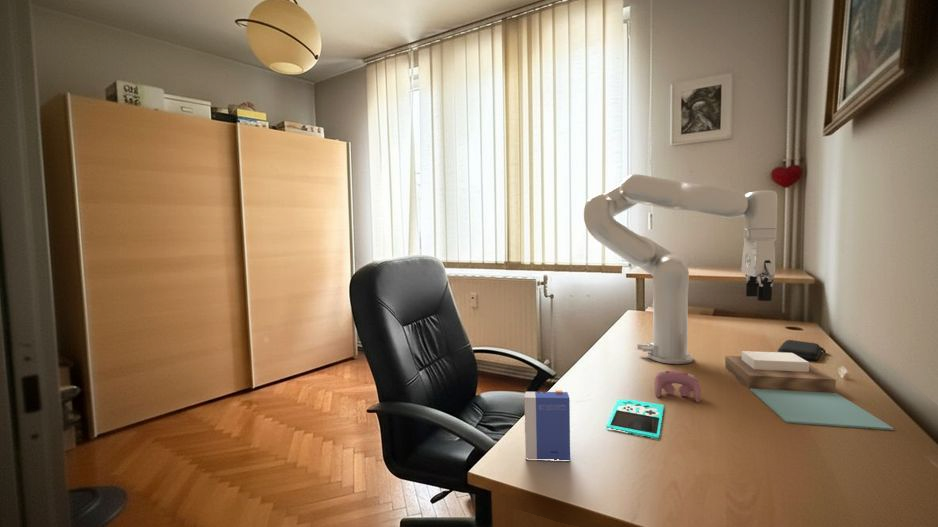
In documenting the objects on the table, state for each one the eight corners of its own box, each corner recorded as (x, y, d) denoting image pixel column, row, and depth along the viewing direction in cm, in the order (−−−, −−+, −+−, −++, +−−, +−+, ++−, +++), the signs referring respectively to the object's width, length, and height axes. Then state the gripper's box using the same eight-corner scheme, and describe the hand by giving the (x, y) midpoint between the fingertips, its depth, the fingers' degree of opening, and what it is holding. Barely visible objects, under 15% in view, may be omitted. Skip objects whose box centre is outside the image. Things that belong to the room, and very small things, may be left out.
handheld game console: (665, 409, 92) (665, 404, 92) (660, 443, 78) (660, 436, 78) (618, 402, 97) (618, 396, 97) (606, 432, 83) (606, 425, 83)
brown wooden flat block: (749, 389, 101) (749, 375, 101) (725, 367, 117) (725, 355, 116) (835, 393, 97) (835, 379, 97) (798, 371, 112) (799, 358, 112)
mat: (786, 422, 84) (786, 420, 84) (749, 389, 101) (749, 388, 101) (893, 430, 79) (893, 428, 79) (836, 394, 96) (836, 393, 96)
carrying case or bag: (822, 364, 118) (826, 353, 128) (822, 354, 118) (827, 343, 128) (776, 357, 125) (784, 347, 136) (776, 347, 125) (784, 337, 135)
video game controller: (700, 404, 97) (699, 374, 100) (701, 402, 93) (700, 371, 96) (654, 398, 101) (654, 369, 104) (654, 396, 97) (654, 366, 100)
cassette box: (754, 369, 105) (754, 360, 105) (741, 359, 113) (741, 351, 113) (808, 371, 102) (809, 362, 102) (792, 361, 110) (792, 352, 110)
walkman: (568, 453, 75) (567, 390, 74) (570, 462, 72) (569, 396, 71) (524, 452, 76) (523, 389, 75) (525, 460, 73) (523, 395, 72)
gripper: (732, 235, 124) (731, 293, 125) (758, 236, 107) (756, 303, 108) (760, 234, 122) (759, 293, 123) (791, 235, 105) (789, 304, 107)
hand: (758, 297), depth 116 cm, fingers open, 6 cm apart
